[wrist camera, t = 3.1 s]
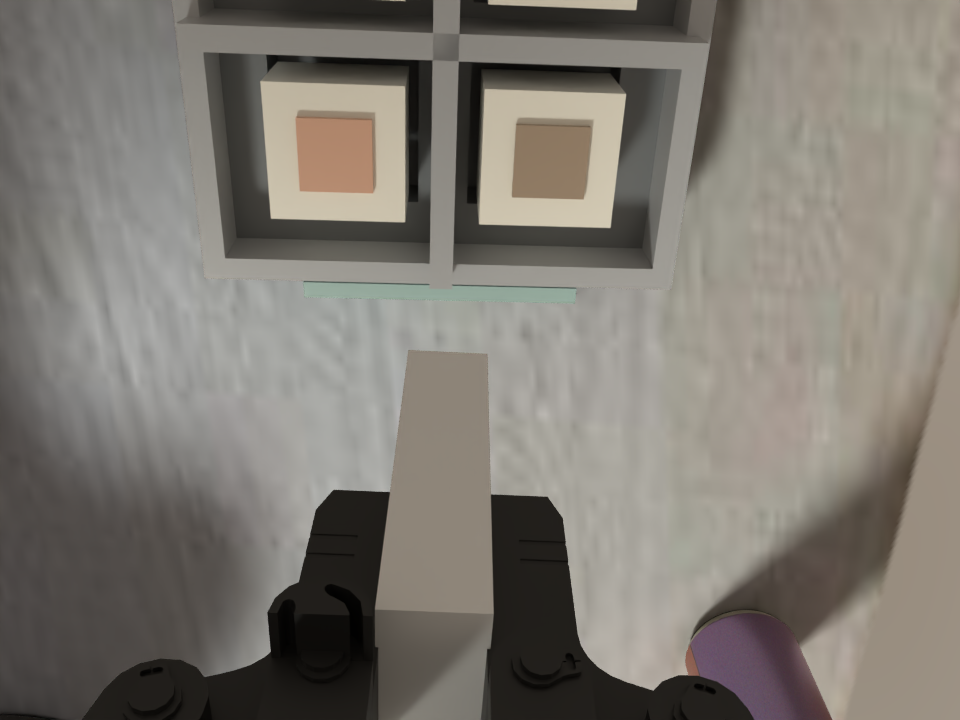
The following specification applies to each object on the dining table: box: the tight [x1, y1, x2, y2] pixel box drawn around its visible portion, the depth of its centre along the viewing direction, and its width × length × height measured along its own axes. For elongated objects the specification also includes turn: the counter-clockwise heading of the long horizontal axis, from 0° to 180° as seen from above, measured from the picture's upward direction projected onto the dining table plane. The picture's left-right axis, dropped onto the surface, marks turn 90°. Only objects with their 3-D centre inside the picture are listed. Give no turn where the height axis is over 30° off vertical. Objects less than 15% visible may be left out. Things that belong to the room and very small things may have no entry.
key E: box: [476, 69, 626, 228], centre depth 31 cm, size 4×4×3 cm
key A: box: [260, 61, 409, 222], centre depth 30 cm, size 4×4×3 cm
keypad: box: [172, 0, 717, 304], centre depth 30 cm, size 17×18×6 cm
